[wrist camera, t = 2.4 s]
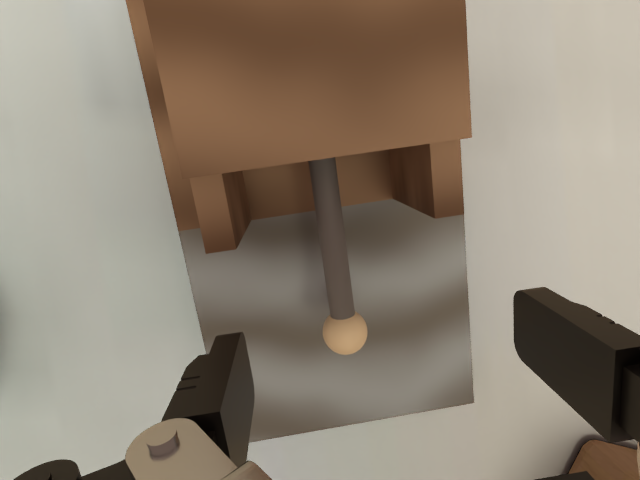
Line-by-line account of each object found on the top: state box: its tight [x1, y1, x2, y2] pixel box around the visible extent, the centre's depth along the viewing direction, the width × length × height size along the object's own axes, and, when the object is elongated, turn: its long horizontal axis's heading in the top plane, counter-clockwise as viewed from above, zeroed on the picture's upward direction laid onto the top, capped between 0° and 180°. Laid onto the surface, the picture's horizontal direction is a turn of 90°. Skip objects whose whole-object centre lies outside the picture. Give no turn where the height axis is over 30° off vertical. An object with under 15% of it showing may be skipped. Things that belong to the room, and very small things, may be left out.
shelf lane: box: [126, 0, 474, 442], centre depth 19 cm, size 26×16×9 cm, turn 8°
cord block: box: [308, 157, 367, 355], centre depth 19 cm, size 18×6×5 cm, turn 8°
